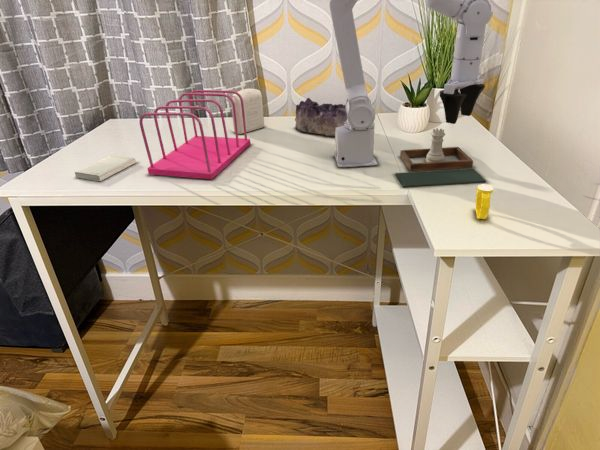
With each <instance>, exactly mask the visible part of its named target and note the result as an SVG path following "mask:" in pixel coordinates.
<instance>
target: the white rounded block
mask: <svg viewBox="0 0 600 450" xmlns="http://www.w3.org/2000/svg"><path fill="white" fill-rule="evenodd" d="M237 92H238V93H239V94H240V95H241V97H242V99H243V104H244V113H245V124H246V133H250V132H252V131H256V130H259V129H262V128H264V127H265V117H264V116H265V115H264V106H263V105H264V103H263V94H262V92H261V90H259V89H257V88H244V89H241V90H238V91H237ZM230 97H231V98H232V99H233V101H234V104H235V111H236V121H237V131H238V135H242V134H244V127H243V116H242V107H241V100H240V98H239V96H238V95H236V94H234V93H232V95H230ZM230 107H231V115H232V123H233V130H234V132H235V124H234V115H233V106H232V102H231V101H230Z"/></svg>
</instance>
